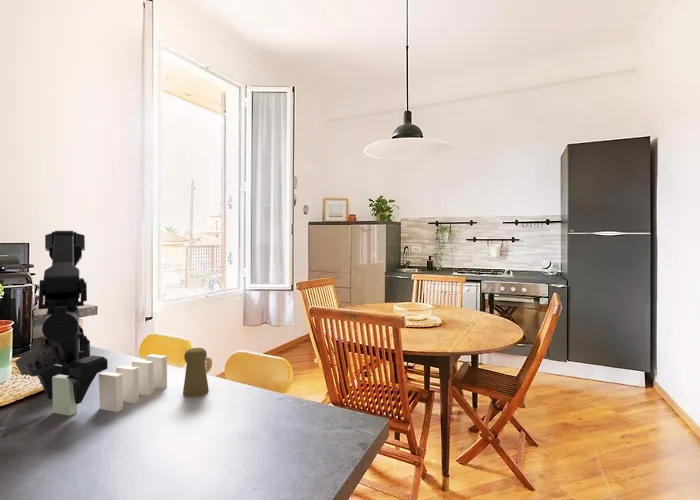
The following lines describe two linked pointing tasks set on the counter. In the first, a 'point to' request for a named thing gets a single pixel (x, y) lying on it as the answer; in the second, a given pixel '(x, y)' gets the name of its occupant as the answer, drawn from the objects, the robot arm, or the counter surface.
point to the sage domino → (63, 395)
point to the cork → (195, 373)
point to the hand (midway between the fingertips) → (64, 400)
